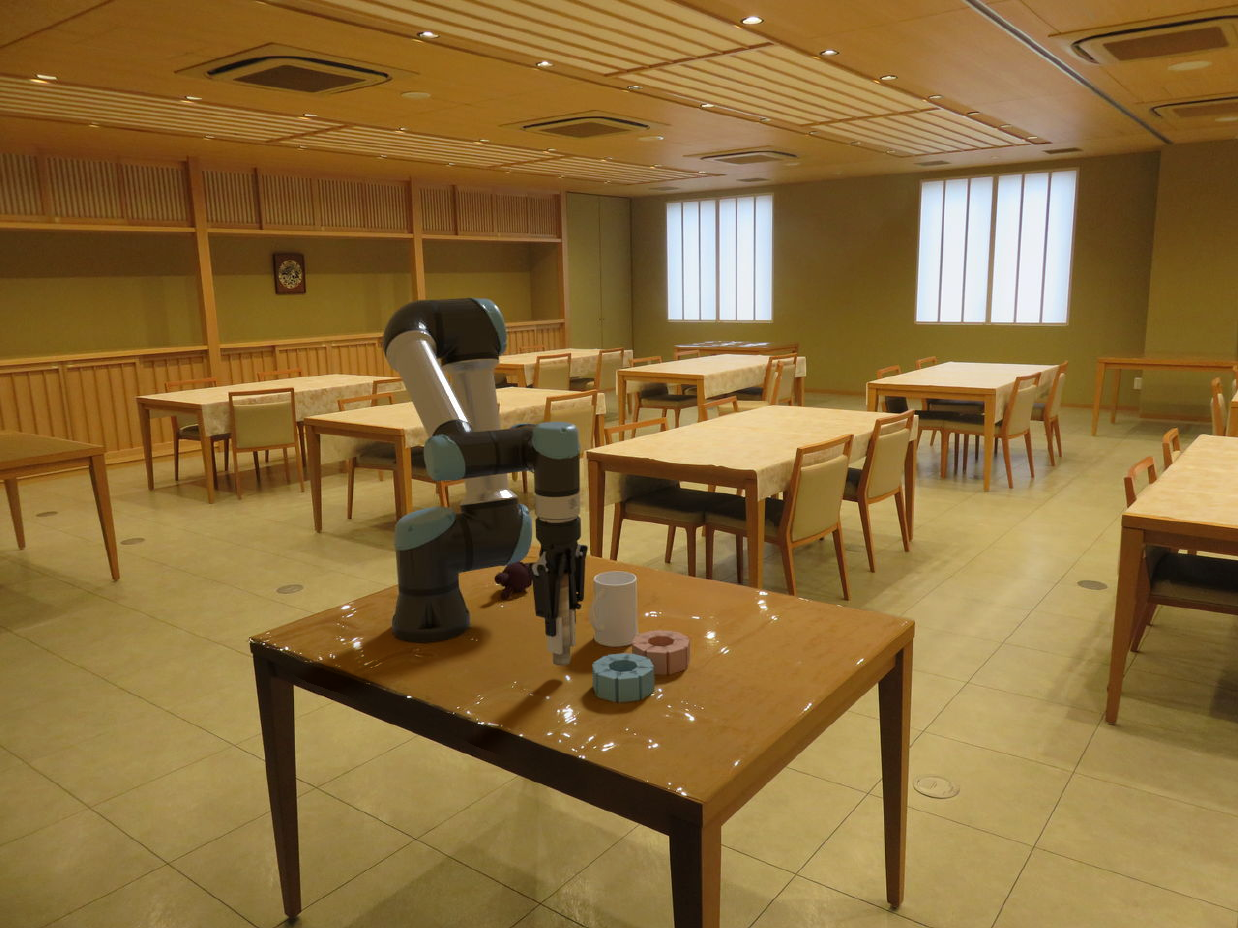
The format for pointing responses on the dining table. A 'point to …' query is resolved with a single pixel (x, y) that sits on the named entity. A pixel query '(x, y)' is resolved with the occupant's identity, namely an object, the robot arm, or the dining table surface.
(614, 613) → the mug
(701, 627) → the dining table surface
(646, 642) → the bead terracotta
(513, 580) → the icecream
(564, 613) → the wooden dowel handle
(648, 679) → the bead
